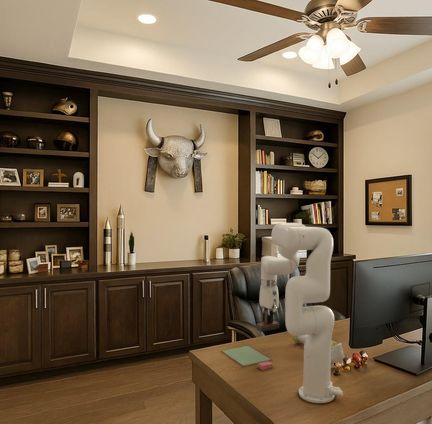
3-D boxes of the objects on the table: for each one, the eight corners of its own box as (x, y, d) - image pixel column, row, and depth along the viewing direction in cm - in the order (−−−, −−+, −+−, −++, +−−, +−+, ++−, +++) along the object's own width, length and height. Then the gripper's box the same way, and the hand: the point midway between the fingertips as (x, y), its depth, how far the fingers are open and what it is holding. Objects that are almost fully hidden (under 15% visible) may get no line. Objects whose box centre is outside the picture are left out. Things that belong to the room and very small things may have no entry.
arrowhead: (331, 370, 160) (331, 346, 160) (327, 368, 162) (327, 344, 162) (346, 366, 164) (346, 343, 164) (342, 364, 166) (342, 341, 166)
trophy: (291, 327, 192) (330, 345, 165) (303, 325, 195) (344, 343, 169) (291, 344, 192) (330, 365, 165) (303, 342, 195) (344, 362, 169)
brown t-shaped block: (256, 329, 180) (256, 310, 180) (274, 325, 185) (274, 308, 185) (261, 331, 176) (261, 312, 176) (279, 328, 182) (279, 310, 182)
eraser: (258, 368, 161) (258, 363, 161) (268, 365, 163) (268, 361, 163) (262, 370, 158) (262, 365, 158) (272, 368, 161) (272, 363, 161)
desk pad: (271, 360, 170) (271, 359, 170) (243, 366, 162) (243, 365, 162) (247, 346, 187) (247, 345, 187) (221, 351, 179) (221, 350, 179)
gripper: (285, 285, 176) (284, 325, 176) (265, 279, 189) (265, 317, 189) (272, 286, 172) (271, 328, 172) (252, 280, 185) (252, 319, 185)
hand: (268, 322), depth 181 cm, fingers closed on brown t-shaped block, 2 cm apart
